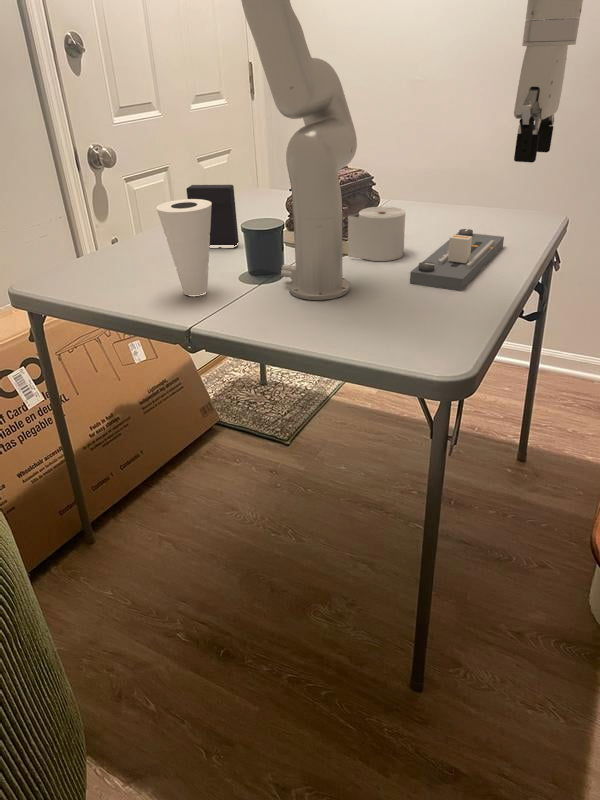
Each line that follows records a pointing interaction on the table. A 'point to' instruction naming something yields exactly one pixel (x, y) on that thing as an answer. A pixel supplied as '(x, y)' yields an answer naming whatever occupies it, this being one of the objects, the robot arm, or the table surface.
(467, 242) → the fader
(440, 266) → the console
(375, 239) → the toilet tissue
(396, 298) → the table surface
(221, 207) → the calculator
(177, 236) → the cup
